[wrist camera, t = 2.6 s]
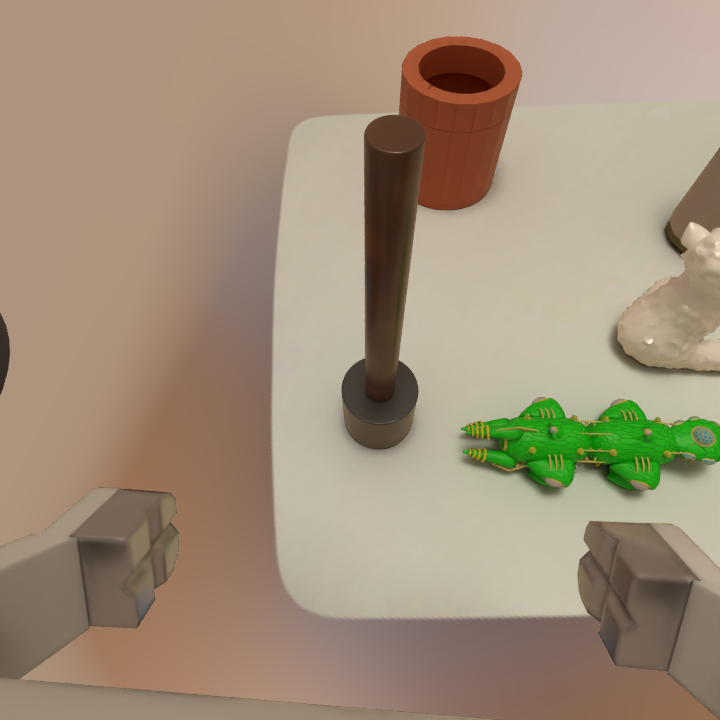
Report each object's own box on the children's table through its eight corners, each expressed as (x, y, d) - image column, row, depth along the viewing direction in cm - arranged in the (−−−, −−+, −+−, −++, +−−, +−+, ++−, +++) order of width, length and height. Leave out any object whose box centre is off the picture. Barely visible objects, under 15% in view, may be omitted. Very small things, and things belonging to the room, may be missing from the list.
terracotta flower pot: (383, 197, 48) (387, 90, 38) (410, 137, 52) (420, 28, 43) (479, 219, 46) (510, 114, 36) (499, 156, 51) (530, 46, 41)
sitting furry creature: (741, 372, 38) (885, 276, 27) (650, 406, 36) (765, 319, 26) (665, 284, 42) (764, 172, 31) (582, 312, 41) (656, 204, 30)
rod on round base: (334, 436, 35) (288, 167, 14) (357, 378, 38) (347, 74, 17) (400, 458, 34) (454, 205, 14) (420, 397, 37) (491, 101, 16)
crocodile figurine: (720, 499, 33) (765, 483, 29) (461, 492, 33) (473, 475, 29) (690, 412, 36) (728, 387, 32) (455, 406, 36) (465, 381, 33)
